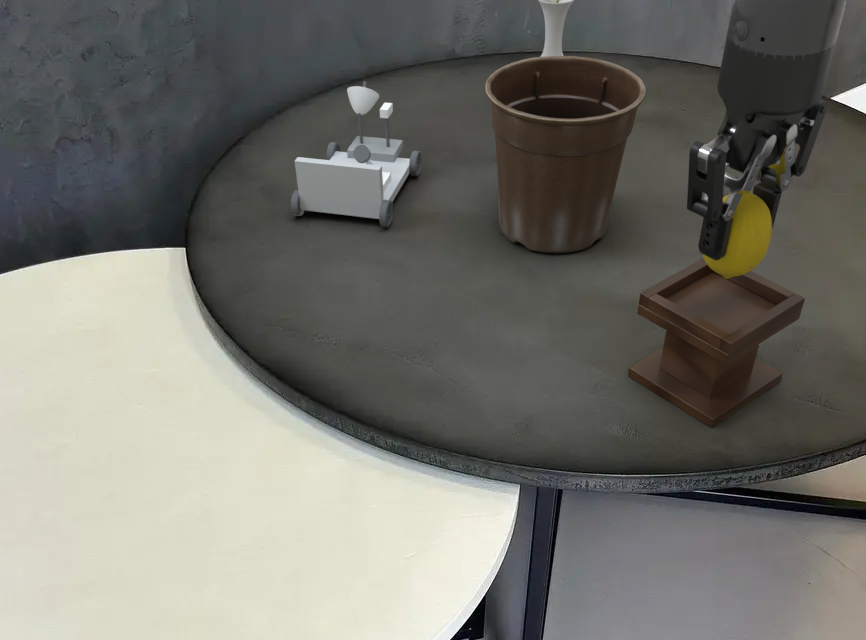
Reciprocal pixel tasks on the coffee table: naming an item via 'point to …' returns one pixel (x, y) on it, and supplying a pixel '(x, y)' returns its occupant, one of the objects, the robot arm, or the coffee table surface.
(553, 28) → the flower in vase
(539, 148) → the plant pot
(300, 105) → the coffee table surface
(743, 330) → the stand
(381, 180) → the grey toy rover
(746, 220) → the lemon
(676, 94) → the coffee table surface
